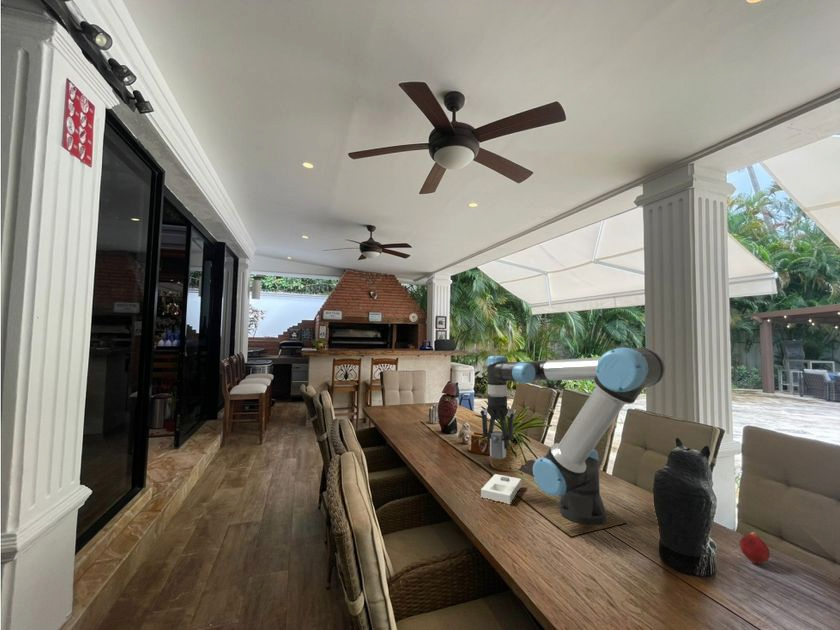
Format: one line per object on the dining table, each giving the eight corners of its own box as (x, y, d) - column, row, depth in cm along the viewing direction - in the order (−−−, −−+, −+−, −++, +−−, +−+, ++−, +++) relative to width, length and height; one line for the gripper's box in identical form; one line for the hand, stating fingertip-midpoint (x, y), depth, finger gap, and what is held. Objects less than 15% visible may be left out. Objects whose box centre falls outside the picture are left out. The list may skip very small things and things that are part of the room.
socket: (521, 487, 142) (521, 476, 142) (509, 505, 126) (509, 493, 127) (495, 482, 147) (494, 472, 148) (481, 499, 132) (480, 487, 132)
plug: (505, 455, 136) (504, 432, 137) (500, 460, 130) (499, 436, 131) (495, 454, 138) (494, 431, 139) (489, 458, 132) (489, 434, 133)
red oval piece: (761, 572, 90) (758, 539, 90) (735, 558, 95) (733, 528, 96) (776, 568, 91) (773, 536, 92) (750, 555, 97) (747, 525, 97)
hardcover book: (546, 487, 144) (546, 481, 144) (508, 469, 164) (508, 464, 164) (572, 480, 151) (572, 474, 151) (532, 464, 171) (532, 459, 172)
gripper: (521, 395, 136) (522, 456, 134) (479, 392, 144) (480, 450, 142) (516, 398, 129) (518, 462, 127) (473, 394, 137) (474, 455, 136)
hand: (498, 455), depth 135 cm, fingers closed on plug, 4 cm apart
